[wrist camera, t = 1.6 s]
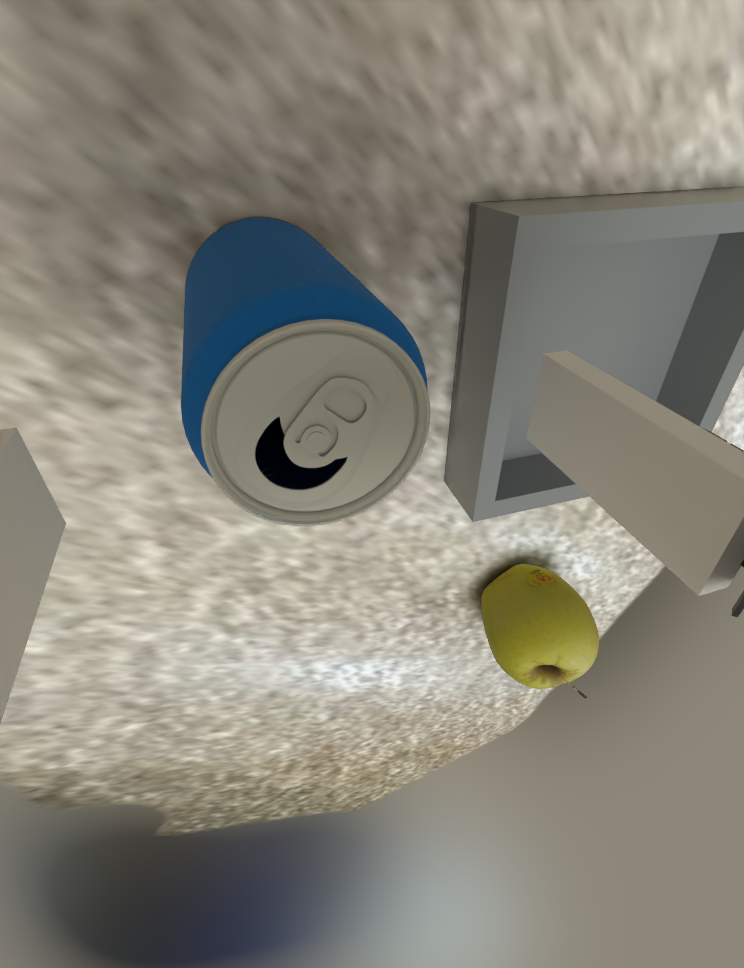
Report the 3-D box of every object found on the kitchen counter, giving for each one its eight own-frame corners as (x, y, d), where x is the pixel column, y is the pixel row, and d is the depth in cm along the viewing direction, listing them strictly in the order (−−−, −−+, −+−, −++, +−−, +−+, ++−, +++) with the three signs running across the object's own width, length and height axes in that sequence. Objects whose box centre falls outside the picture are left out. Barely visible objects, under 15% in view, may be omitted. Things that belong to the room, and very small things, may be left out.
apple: (584, 544, 37) (654, 678, 31) (527, 590, 43) (577, 710, 37) (498, 545, 34) (557, 693, 28) (449, 595, 40) (490, 726, 34)
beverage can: (154, 314, 20) (123, 477, 11) (242, 174, 18) (295, 228, 9) (282, 394, 24) (340, 566, 15) (366, 284, 22) (493, 403, 13)
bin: (471, 202, 21) (518, 216, 18) (745, 186, 24) (824, 195, 21) (444, 481, 30) (472, 521, 27) (646, 441, 34) (691, 473, 31)
